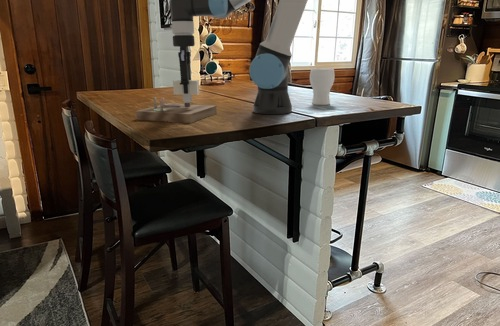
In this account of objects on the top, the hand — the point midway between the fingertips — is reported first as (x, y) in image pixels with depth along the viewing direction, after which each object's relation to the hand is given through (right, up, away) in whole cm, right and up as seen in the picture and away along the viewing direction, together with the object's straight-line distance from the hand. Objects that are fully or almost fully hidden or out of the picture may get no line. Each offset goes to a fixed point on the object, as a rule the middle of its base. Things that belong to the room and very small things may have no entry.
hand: (187, 101), depth 142 cm
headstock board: (-4, -5, +1) cm, 6 cm away
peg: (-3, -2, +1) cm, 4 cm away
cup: (+54, +3, +28) cm, 61 cm away
